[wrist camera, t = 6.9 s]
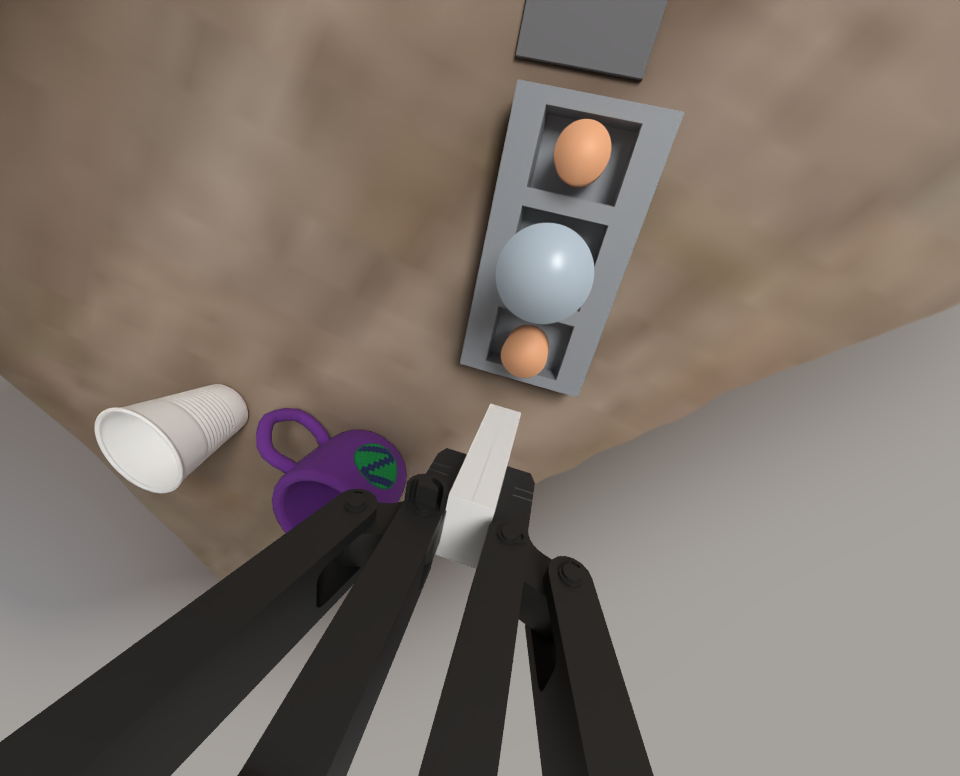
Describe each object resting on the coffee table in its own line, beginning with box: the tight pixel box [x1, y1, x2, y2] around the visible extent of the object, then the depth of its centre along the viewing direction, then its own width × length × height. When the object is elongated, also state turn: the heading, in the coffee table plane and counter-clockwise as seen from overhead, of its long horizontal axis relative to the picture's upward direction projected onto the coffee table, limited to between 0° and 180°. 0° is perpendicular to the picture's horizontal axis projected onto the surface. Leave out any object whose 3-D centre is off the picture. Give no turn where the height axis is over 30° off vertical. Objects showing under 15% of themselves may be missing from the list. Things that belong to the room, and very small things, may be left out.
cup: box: [95, 384, 248, 493], centre depth 41 cm, size 10×10×11 cm
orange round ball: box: [501, 324, 549, 378], centre depth 30 cm, size 4×4×3 cm
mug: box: [256, 408, 406, 533], centre depth 40 cm, size 17×11×10 cm, turn 43°
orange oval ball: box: [554, 119, 611, 188], centre depth 25 cm, size 4×4×3 cm
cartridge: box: [496, 223, 594, 324], centre depth 25 cm, size 5×5×12 cm
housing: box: [460, 80, 684, 398], centre depth 30 cm, size 21×11×3 cm, turn 168°
